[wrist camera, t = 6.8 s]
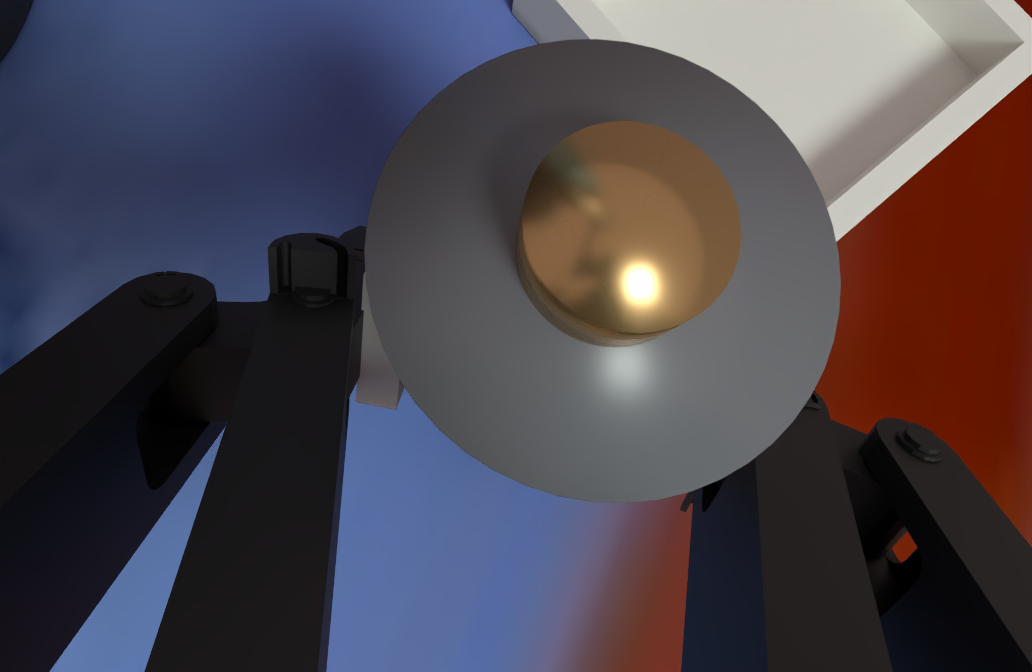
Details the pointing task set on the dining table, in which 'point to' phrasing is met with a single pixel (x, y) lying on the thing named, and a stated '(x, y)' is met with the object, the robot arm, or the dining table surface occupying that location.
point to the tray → (831, 72)
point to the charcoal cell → (602, 270)
